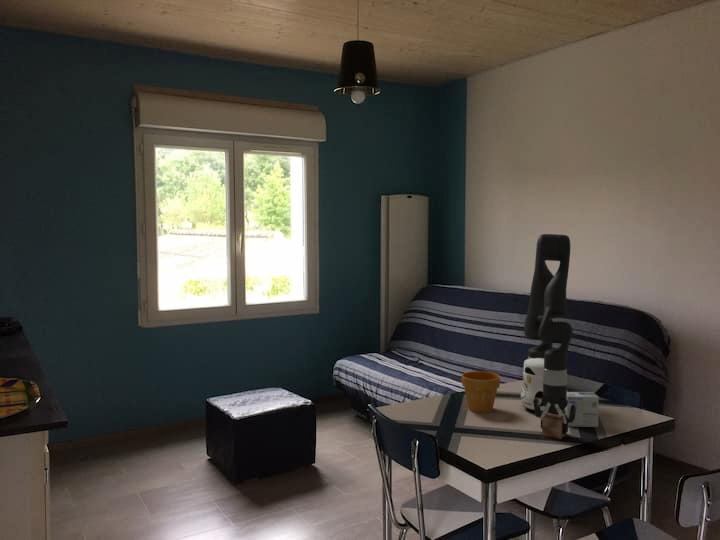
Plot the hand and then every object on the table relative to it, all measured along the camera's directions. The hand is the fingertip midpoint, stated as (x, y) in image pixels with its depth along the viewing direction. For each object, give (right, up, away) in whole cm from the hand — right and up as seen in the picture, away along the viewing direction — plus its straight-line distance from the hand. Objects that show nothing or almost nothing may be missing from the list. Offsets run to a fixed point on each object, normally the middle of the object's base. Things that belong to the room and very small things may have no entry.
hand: (554, 431), depth 202 cm
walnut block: (0, -1, 0) cm, 1 cm away
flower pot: (-19, +1, +29) cm, 35 cm away
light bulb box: (+13, 0, +11) cm, 17 cm away
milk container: (+5, +1, +28) cm, 29 cm away
